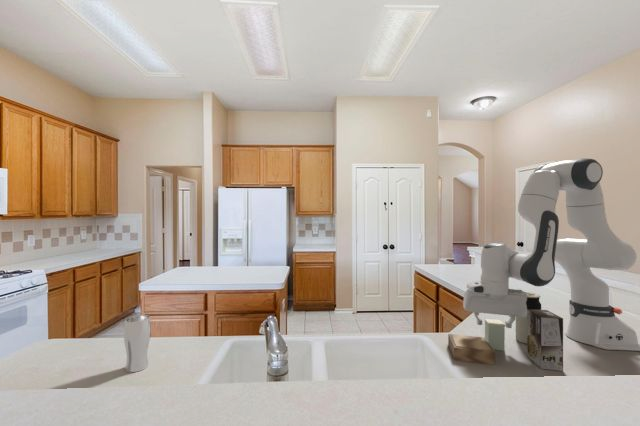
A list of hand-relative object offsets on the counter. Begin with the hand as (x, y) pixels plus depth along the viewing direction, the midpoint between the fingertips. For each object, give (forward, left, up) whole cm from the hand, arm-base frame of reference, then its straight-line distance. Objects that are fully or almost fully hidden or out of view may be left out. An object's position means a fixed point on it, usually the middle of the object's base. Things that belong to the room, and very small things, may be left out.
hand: (493, 325), depth 107 cm
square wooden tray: (+10, +9, -8) cm, 15 cm away
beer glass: (+111, +48, -8) cm, 121 cm away
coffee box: (-12, +9, -8) cm, 17 cm away
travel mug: (-14, -9, -8) cm, 19 cm away
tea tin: (0, 0, -8) cm, 8 cm away
